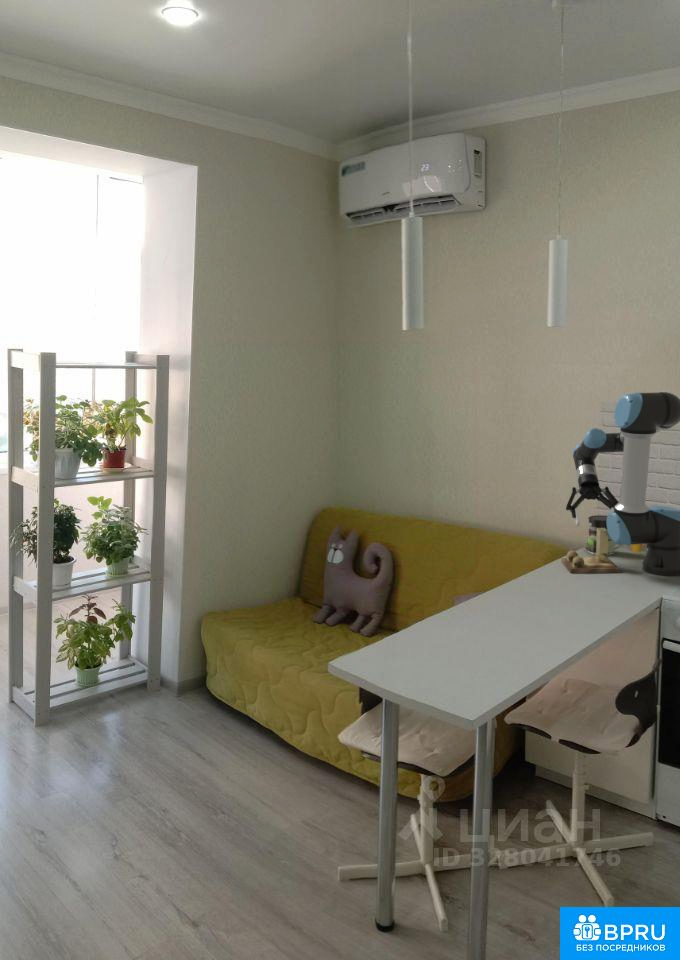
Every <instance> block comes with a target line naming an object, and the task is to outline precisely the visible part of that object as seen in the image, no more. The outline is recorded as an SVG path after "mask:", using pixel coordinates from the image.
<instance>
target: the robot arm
mask: <svg viewBox="0 0 680 960" xmlns="http://www.w3.org/2000/svg"><path fill="white" fill-rule="evenodd" d="M614 419H615V420H614V421H615V425H616V426H617V427H618V428H620V432H612V433H611V432H609V433H606V432H605V431H604V430H602V429H599V428H596V427H594V428H590V429H589V430H588V431H587V433H586V434H585V436H584V437H583V439H582V442H581V443H578V444H577V445H576V446H573V449H572V458H573V462H574V466H575V472H576V478H577V483H578V488H576V487H572V489H571V495H570V497H569V499H568V501H567V504H566V506H565V510H566V511H570V513H571V517H572V519H575V526H576V527H579V526H580V523H581V522H580V516H579V511H578V507H579V506H580V505H581V503H582V502H584V501H585V500H587V501H588V500H593V501H594V500H597V501H599V502H601V504H603V505H604V506H606V507H607V508H609V509H610V511H609V513H608V515H606V516H607V530H608V533H609V535H610V538H611V539H612V541H613V542H614V543H615V544H616V545H619V546H622V545H623V546H630V545H644V544H647V551H646V553H645V556H644V557H643V558H644V559H643V562H642V567H641V569H642V570H643V571H644V572H647V573H649V574H651V575H652V574H653V575H658V576H659V575H660V576H680V509H679V508H674V507H669V506H663V505H650V506H648V505H647V503H646V497H647V487H648V486H647V485H648V474H649V462H650V450H651V439H652V437H654V435H656V434H657V433H659V432H660V431H663V430H667V429H671V428H672V427H674V426H676V425H678V424H679V423H680V397H678V396H677V395H675V394H674V393H672V392H667V391H661V392H634V393H626V394H624V395H622V396H621V397H620V398H619V399H618V401H617V403H616V405H615V409H614ZM605 453H608V454H609V453H622V463H621V464H622V465H621V477H620V478H621V480H620V490H619V491H620V492H619V501H618V499H617V498H616V497H615V496H614V495H613V494H612V493H611V491H610V489H609V487H608V486H605V487H603V488H601V486H600V482H599V478H598V477H599V476H598V473H597V468H596V462H595V460H596V458H597V457H598V456H599V454H605ZM578 493H579V495H580V496H579V497H578V498H577V500H576V501H575V502H574V503H573V501H574V499H575V496H576V495H577V494H578ZM572 503H573V504H572Z"/></svg>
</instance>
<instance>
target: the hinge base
mask: <svg viewBox="0 0 680 960" xmlns="http://www.w3.org/2000/svg"><path fill="white" fill-rule="evenodd" d="M566 553H567V554H566V558H561V563H562V566H564V567H565V568H566V569H567V571H568V572H569V573H570V574H603V573H604V574H605V573H608V574H610V573H613V574H614V573H616V574H619V573H621V568H620V567H619V566H618V565H617V563H615V562H614V561H612V560H611V559H610V558H609V563H598V562H597V561H595V560H594V558H595V556H588V557H587V556H584V557H583V556H582V557H581V556H579V553H577V551H576V550H574V549H573V550H572V549H570V550H569V551H568V552H566Z"/></svg>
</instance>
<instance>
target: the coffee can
mask: <svg viewBox="0 0 680 960" xmlns="http://www.w3.org/2000/svg"><path fill="white" fill-rule="evenodd" d="M607 516H608V515H600V514H599V515H590V516H588V518H587V519H588V536H587V537H588V538H587V539H588V542H587V543H588V545H587V546H588V547H587V553H588V552H589V553H588V554H590V553H591V555H594V556H595V553H596V538H597V528H605V529H607ZM615 544H616V543H614V542H613V541H612V539H611V538H610V535H609V533H608V552H607V555H608V556H612V555H611V554H613V555H614V554H615V547H616V546H615Z"/></svg>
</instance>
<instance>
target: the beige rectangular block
mask: <svg viewBox="0 0 680 960" xmlns="http://www.w3.org/2000/svg"><path fill="white" fill-rule="evenodd" d="M607 552H608V530H607V529H605V528H597V538H596V553H595V555H594V557H595V558H594V560H595V561H597V562H598V563H609V559H610V557H609V555H607Z"/></svg>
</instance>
